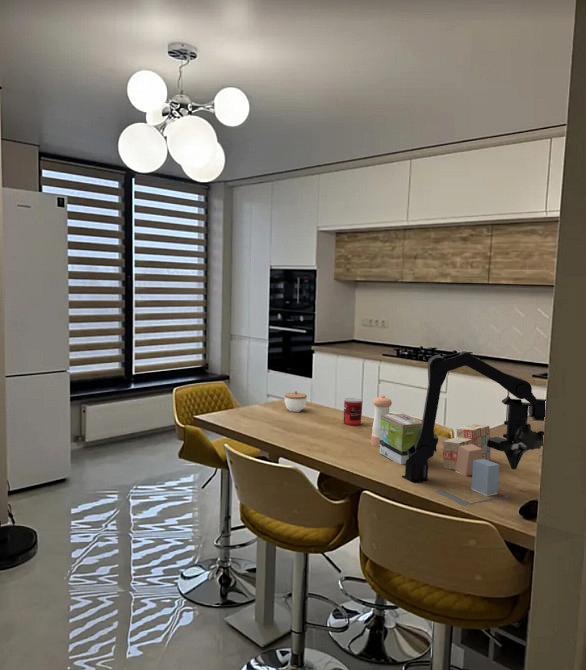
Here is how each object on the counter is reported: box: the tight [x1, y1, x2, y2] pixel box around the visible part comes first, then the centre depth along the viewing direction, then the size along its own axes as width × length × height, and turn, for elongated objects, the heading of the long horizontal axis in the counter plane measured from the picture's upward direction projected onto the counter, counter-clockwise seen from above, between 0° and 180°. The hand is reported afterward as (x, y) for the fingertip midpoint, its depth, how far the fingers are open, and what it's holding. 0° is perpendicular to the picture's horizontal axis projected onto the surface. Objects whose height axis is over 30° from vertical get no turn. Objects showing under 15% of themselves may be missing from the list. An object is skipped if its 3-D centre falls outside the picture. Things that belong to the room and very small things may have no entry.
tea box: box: [379, 413, 422, 465], centre depth 200 cm, size 15×10×15 cm
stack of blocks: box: [442, 424, 492, 470], centre depth 196 cm, size 21×6×12 cm, turn 134°
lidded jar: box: [284, 390, 307, 413], centre depth 272 cm, size 11×11×9 cm
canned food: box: [343, 397, 363, 427], centre depth 250 cm, size 8×8×11 cm
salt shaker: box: [370, 395, 393, 447], centre depth 217 cm, size 7×7×19 cm
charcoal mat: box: [434, 489, 510, 507], centre depth 166 cm, size 18×12×1 cm, turn 117°
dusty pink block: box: [454, 444, 482, 477], centre depth 185 cm, size 4×6×9 cm
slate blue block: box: [470, 459, 500, 497], centre depth 168 cm, size 4×6×9 cm
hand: (513, 469), depth 174 cm, fingers closed
